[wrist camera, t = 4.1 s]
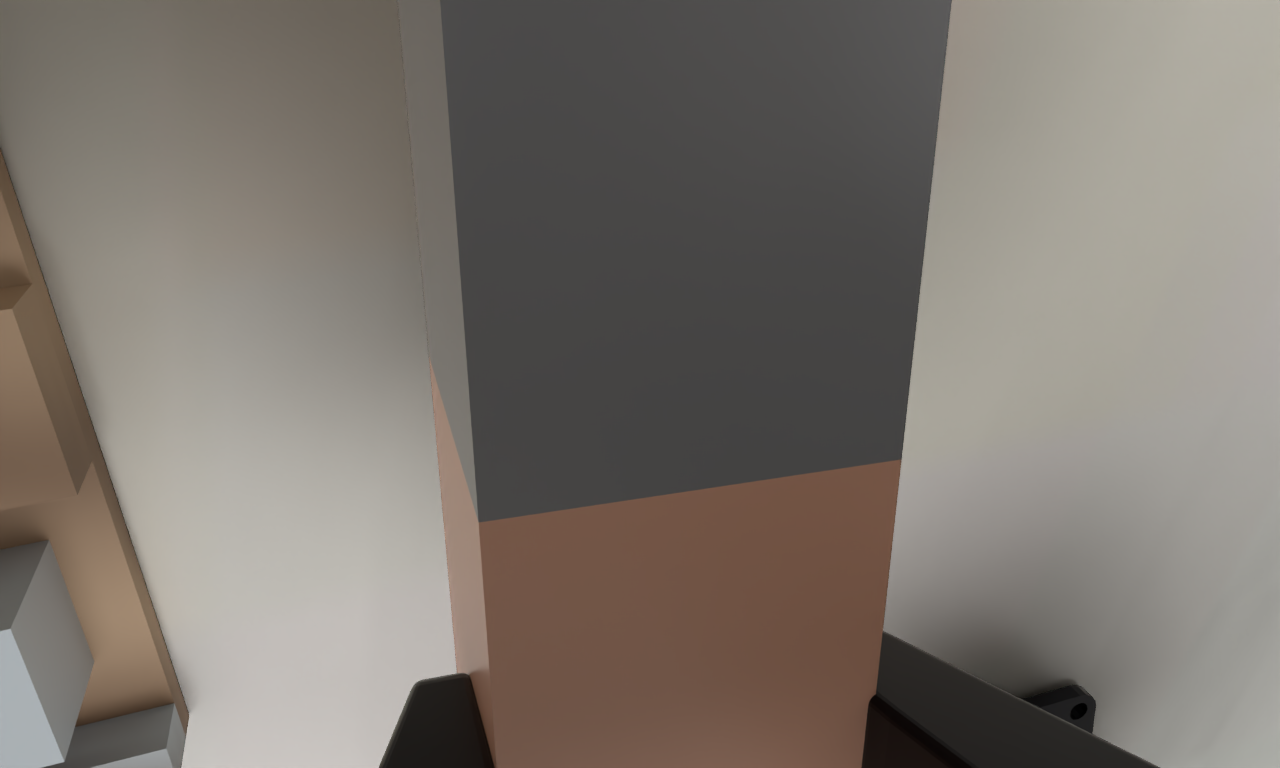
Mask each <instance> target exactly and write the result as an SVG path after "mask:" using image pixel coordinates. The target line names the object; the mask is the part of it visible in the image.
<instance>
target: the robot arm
mask: <svg viewBox="0 0 1280 768" xmlns="http://www.w3.org/2000/svg"><path fill="white" fill-rule="evenodd" d="M1095 708H1096V704H1095V700H1094V699H1093V697H1092V696H1091V695H1090V694H1089V693H1088V692H1087V691H1086V690H1085V689H1084V688H1082V687H1081V686H1078V685H1071V686H1067V687H1064V688H1060V689H1057V690H1053V691H1050V692H1047V693H1043V694H1040V695H1036V696H1033V697H1030V698H1026V699H1023V700H1022V699H1020V698H1018V697H1016V696H1014V695H1012V694H1010V693H1008V692H1006V691H1004V690H1002V689H1000V688H998V687H996V686H994V685H992V684H990V683H988V682H986V681H984V680H982V679H980V678H978V677H976V676H973V675H971V674H969V673H967V672H965V671H963V670H961V669H959V668H957V667H955V666H953V665H951V664H949V663H947V662H945V661H943V660H941V659H939V658H937V657H935V656H933V655H931V654H929V653H927V652H925V651H923V650H921V649H919V648H917V647H915V646H913V645H911V644H909V643H907V642H905V641H903V640H901V639H899V638H897V637H895V636H893V635H890V634H888V633H886V632H884V631H883V633H882V642H881V651H880V660H879V670H878V679H877V688H876V695H874V696H873V697H872V698H871V699H870V701H869V704H868V712H867V721H866V730H865V740H864V749H863V758H862V767H861V768H1160V767H1158V766H1156V765H1154V764H1152V763H1150V762H1148V761H1146V760H1144V759H1142V758H1139V757H1137V756H1135V755H1133V754H1131V753H1129V752H1127V751H1125V750H1123V749H1121V748H1119V747H1117V746H1115V745H1113V744H1111V743H1109V742H1107V741H1105V740H1103V739H1101V738H1099V737H1097V736H1095V735H1093V734H1092V731H1093V724H1094V716H1095ZM379 768H495V767H494V764H493V760H492V756H491V752H490V749H489V745H488V741H487V737H486V734H485V730H484V726H483V722H482V719H481V715H480V711H479V708H478V704H477V700H476V696H475V693H474V689H473V685H472V681H471V678H470V676H469V675H468V674H466V673H457V674H451V675H446V676H440V677H435V678H429V679H424V680H421V681H418V682H417V683H416V684H415V685H414V686H413V688H412V689H411V691H410V694H409V696H408V698H407V701H406V703H405V706H404V708H403V710H402V713H401V715H400V718H399V720H398V722H397V725H396V727H395V730H394V732H393V734H392V737H391V739H390V742H389V744H388V746H387V749H386V751H385V754H384V756H383V758H382V761H381V763H380V766H379Z"/></svg>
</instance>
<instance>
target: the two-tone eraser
mask: <svg viewBox="0 0 1280 768" xmlns="http://www.w3.org/2000/svg"><path fill="white" fill-rule="evenodd" d="M951 1H952V0H397V3H398V15H399V26H400V37H401V48H402V60H403V71H404V82H405V93H406V105H407V116H408V127H409V138H410V150H411V161H412V172H413V183H414V195H415V206H416V217H417V228H418V239H419V251H420V262H421V273H422V284H423V296H424V307H425V318H426V329H427V341H428V352H429V363H430V374H431V386H432V397H433V408H434V419H435V431H436V442H437V453H438V464H439V476H440V487H441V498H442V509H443V521H444V532H445V543H446V554H447V566H448V577H449V588H450V599H451V611H452V622H453V633H454V644H455V655H456V667H457V673H466V674H468V675H469V676H470V678H471V681H472V685H473V689H474V693H475V696H476V700H477V704H478V708H479V711H480V715H481V719H482V722H483V726H484V730H485V734H486V737H487V741H488V745H489V749H490V752H491V756H492V760H493V764H494V767H495V768H861V767H862V758H863V749H864V740H865V730H866V721H867V712H868V704H869V701H870V699H871V698H872V697H873V696H874V695H876V688H877V679H878V670H879V660H880V651H881V642H882V633H883V624H884V615H885V605H886V596H887V587H888V578H889V569H890V560H891V550H892V541H893V532H894V523H895V514H896V505H897V495H898V486H899V477H900V468H901V459H902V450H903V440H904V431H905V422H906V413H907V404H908V395H909V385H910V376H911V367H912V358H913V349H914V340H915V331H916V321H917V312H918V303H919V294H920V285H921V276H922V266H923V257H924V248H925V239H926V230H927V221H928V211H929V202H930V193H931V184H932V175H933V166H934V156H935V147H936V138H937V129H938V120H939V111H940V101H941V92H942V83H943V74H944V65H945V56H946V46H947V37H948V28H949V19H950V10H951Z"/></svg>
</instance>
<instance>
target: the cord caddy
mask: <svg viewBox="0 0 1280 768" xmlns="http://www.w3.org/2000/svg"><path fill="white" fill-rule="evenodd" d="M46 540H49V541H50V543H51V546H52V549H53V551H54V554H55V557H56V560H57V562H58V565H59V568H60V570H61V573H62V576H63V578H64V581H65V584H66V586H67V589H68V592H69V595H70V597H71V600H72V603H73V605H74V608H75V611H76V613H77V616H78V619H79V621H80V624H81V627H82V630H83V632H84V635H85V638H86V640H87V643H88V646H89V648H90V651H91V654H92V656H93V659H94V665H93V668H92V671H91V675H90V678H89V681H88V685H87V688H86V691H85V695H84V698H83V701H82V705H81V708H80V712H79V715H78V718H77V722H76V725H75V728H74V732H73V735H72V738H71V742H70V745H69V748H68V752H67V755H66V759H65V762H62V763H58V764H54V765H50V766H46V767H42V768H181V765H182V759H183V752H184V746H185V739H186V733H187V726H188V720H189V714H188V711H187V708H186V705H185V702H184V699H183V696H182V693H181V690H180V687H179V684H178V681H177V678H176V675H175V672H174V669H173V666H172V663H171V660H170V657H169V654H168V651H167V648H166V645H165V642H164V639H163V636H162V633H161V630H160V627H159V624H158V621H157V618H156V615H155V612H154V609H153V606H152V603H151V600H150V597H149V594H148V591H147V588H146V585H145V582H144V579H143V576H142V573H141V570H140V567H139V564H138V561H137V558H136V555H135V552H134V549H133V546H132V543H131V540H130V537H129V534H128V531H127V528H126V525H125V522H124V519H123V516H122V513H121V510H120V507H119V504H118V501H117V498H116V495H115V492H114V489H113V486H112V483H111V480H110V477H109V474H108V471H107V468H106V465H105V462H104V459H103V456H102V453H101V450H100V447H99V444H98V441H97V438H96V435H95V432H94V429H93V426H92V423H91V420H90V417H89V414H88V411H87V408H86V405H85V402H84V399H83V396H82V393H81V390H80V387H79V384H78V381H77V378H76V375H75V372H74V369H73V366H72V363H71V360H70V357H69V354H68V351H67V348H66V345H65V342H64V339H63V336H62V333H61V330H60V327H59V324H58V321H57V318H56V315H55V312H54V309H53V306H52V303H51V300H50V297H49V294H48V291H47V288H46V285H45V282H44V279H43V276H42V273H41V270H40V267H39V264H38V261H37V258H36V255H35V252H34V249H33V246H32V243H31V240H30V237H29V234H28V231H27V228H26V225H25V222H24V219H23V216H22V213H21V210H20V207H19V204H18V201H17V198H16V195H15V192H14V189H13V186H12V183H11V180H10V177H9V174H8V171H7V168H6V165H5V162H4V159H3V156H2V153H1V150H0V550H1V549H6V548H11V547H16V546H21V545H26V544H31V543H36V542H41V541H46Z"/></svg>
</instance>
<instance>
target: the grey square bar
mask: <svg viewBox="0 0 1280 768" xmlns="http://www.w3.org/2000/svg"><path fill="white" fill-rule="evenodd" d="M93 665H94V659H93V656H92V654H91V651H90V648H89V646H88V643H87V640H86V638H85V635H84V632H83V630H82V627H81V624H80V621H79V619H78V616H77V613H76V611H75V608H74V605H73V603H72V600H71V597H70V595H69V592H68V589H67V586H66V584H65V581H64V578H63V576H62V573H61V570H60V568H59V565H58V562H57V560H56V557H55V554H54V551H53V549H52V546H51V543H50V541H49V540H46V541H41V542H36V543H31V544H26V545H21V546H16V547H11V548H6V549H1V550H0V768H42V767H46V766H50V765H54V764H58V763H62V762H65V759H66V755H67V752H68V748H69V745H70V742H71V738H72V735H73V732H74V728H75V725H76V722H77V718H78V715H79V712H80V708H81V705H82V701H83V698H84V695H85V691H86V688H87V685H88V681H89V678H90V675H91V671H92V668H93Z"/></svg>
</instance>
